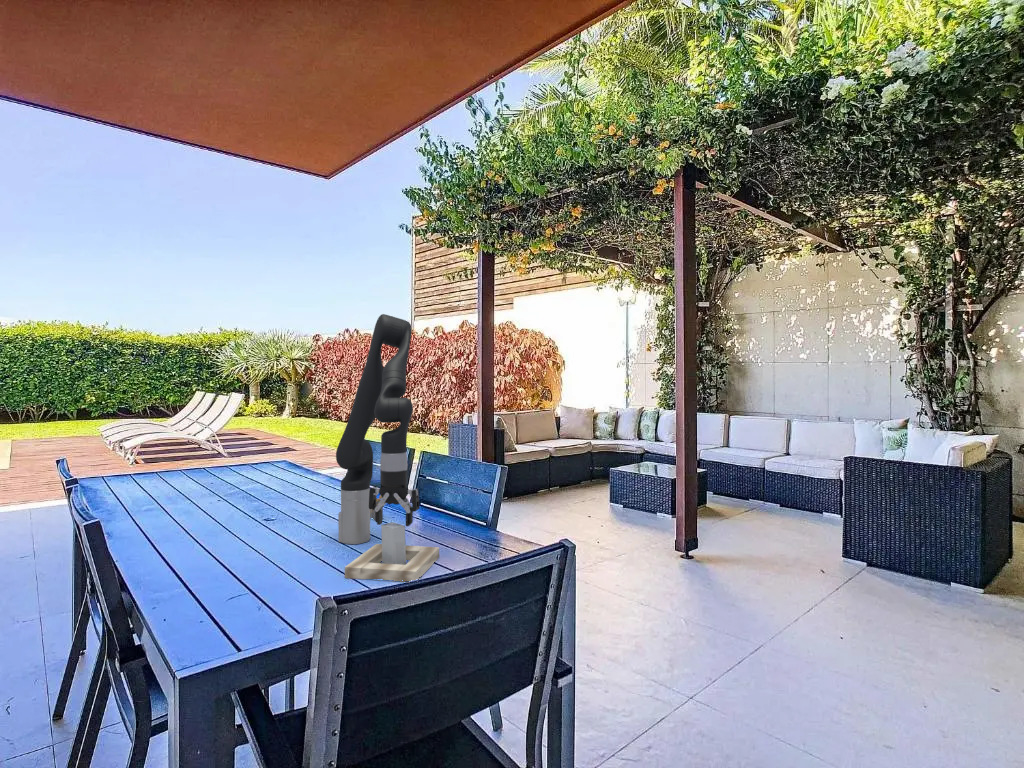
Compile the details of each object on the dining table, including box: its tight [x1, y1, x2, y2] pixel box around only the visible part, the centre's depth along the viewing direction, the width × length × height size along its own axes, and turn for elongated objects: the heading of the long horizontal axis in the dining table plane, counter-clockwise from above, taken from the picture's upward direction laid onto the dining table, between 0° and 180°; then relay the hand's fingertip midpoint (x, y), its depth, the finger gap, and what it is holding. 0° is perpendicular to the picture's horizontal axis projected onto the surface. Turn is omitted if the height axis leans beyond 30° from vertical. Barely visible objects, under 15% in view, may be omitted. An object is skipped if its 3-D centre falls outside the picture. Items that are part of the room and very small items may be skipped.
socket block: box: [344, 543, 440, 583], centre depth 164 cm, size 20×21×3 cm
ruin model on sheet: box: [370, 494, 384, 521], centre depth 218 cm, size 11×3×10 cm, turn 33°
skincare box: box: [380, 522, 407, 565], centre depth 164 cm, size 6×4×12 cm
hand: (394, 524), depth 163 cm, fingers open, 8 cm apart
